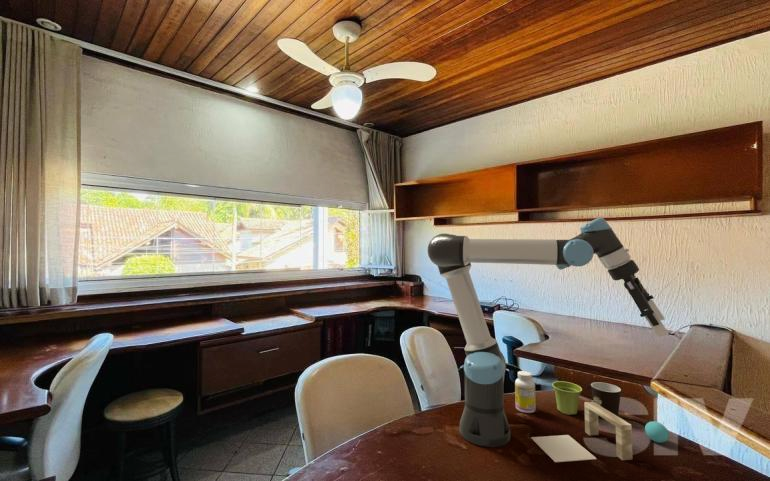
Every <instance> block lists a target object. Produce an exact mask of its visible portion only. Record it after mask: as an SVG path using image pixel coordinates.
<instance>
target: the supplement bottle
mask: <svg viewBox="0 0 770 481" xmlns="http://www.w3.org/2000/svg"><path fill="white" fill-rule="evenodd" d="M532 378H533V375H532V373H531V372H529V371H526V370H519V371H517V378H516V379H515V381H514V391H515V392H514V394H515V396H514V397H515V398H514V399H515V401H514V402H515V409H516V410H517V411H519V412H520V413H521V412H522V413H523V414H524V413H526V414H531V413H534V412H536V383H535V382H534V380H532Z"/></svg>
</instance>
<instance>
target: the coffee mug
mask: <svg viewBox="0 0 770 481" xmlns="http://www.w3.org/2000/svg"><path fill="white" fill-rule="evenodd" d="M589 387H590V388H591V392H590V389H589ZM586 390H587V393H588V395H589V396H590V398H591V399H592V402H595V403H596V404H598V405H600V406H601V407H603V408H605V409H606V410H608V411H609V412H611V413H613V414H614V415H616V416H618V417H619V411H620V402H621V393H622V389H621V388H620V387H619V386H617V385H615V384H611V383H607V382H600V381H599V382H597V381H596V382H595V381H594V382H591V383H588V384H586ZM598 419H600V420H603V421H605V422H606V421H607V420H605V419H604V418H602V417H601V416H599V415H598ZM607 422H608V421H607Z"/></svg>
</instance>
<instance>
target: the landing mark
mask: <svg viewBox="0 0 770 481" xmlns="http://www.w3.org/2000/svg"><path fill="white" fill-rule="evenodd" d="M530 439H531V440H532V441H533V442H535V444H536V445H537V446H539V448H540V449H541V450H542V451H543V452H544V453H545V454H546V455H547V456H549V458H551V460H553V462H554V463H562V462H563V463H565V462H578V461H590V460H597V459H598V458H596V456H595V455H593V454H592V453H590V451H588V450H587V449H586V448H585V447H583V446H582V445H581V444H580V443H579V442H578V441H576V439H574V438H573V437H571V436H570V435H569V434H562V435H548V436H546V435H545V436H532V437H530Z"/></svg>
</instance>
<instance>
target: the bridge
mask: <svg viewBox="0 0 770 481" xmlns="http://www.w3.org/2000/svg"><path fill="white" fill-rule="evenodd" d="M583 407H584V432H585V433H586V434H587V435H588V436H599V432H600V431H599V418H598V415H599V416H601V417H602V418H604V419H605V420H604V421H606V420H607V422H608V423H610V424H612V425H613V426H614V427H615V443H616V444H615V446H616V447H615V448H616V451H615V452H616V457H617V458H619V459H620V460H621V461H630V460H633V459H634V458H633V435H632V434H633V433H632V432H633V431H632V430H633V429H632V427H633V426H632V424H631V423H629V422H627V420H624V419H623V418H621V417H620V416H619V415H618V416H616V415H614V414H613V413H611V412H609V411H608V410H606V409H605V408H603V407H601V406H600V405H598V404H596V403H595V402H594V401H584V406H583Z"/></svg>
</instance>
